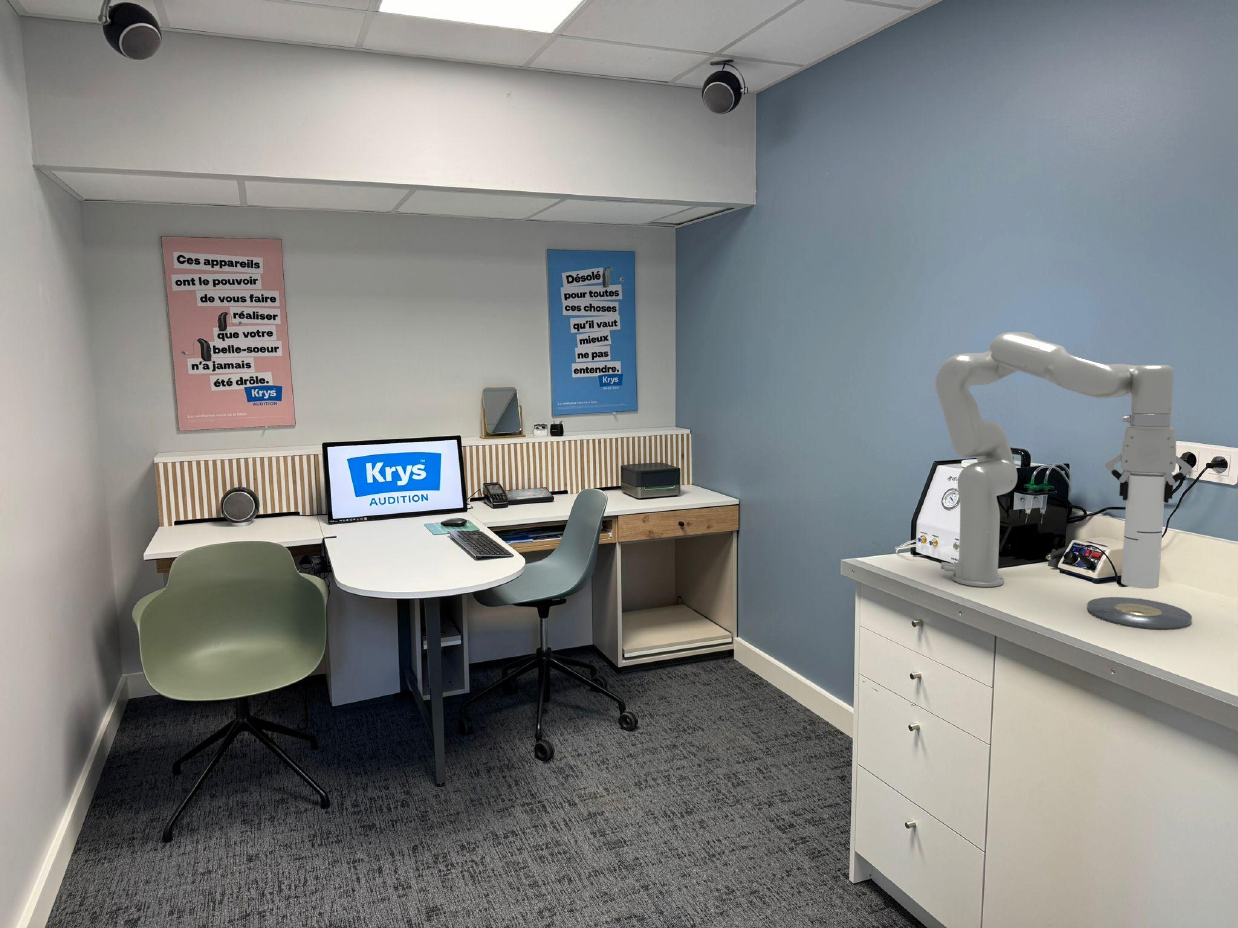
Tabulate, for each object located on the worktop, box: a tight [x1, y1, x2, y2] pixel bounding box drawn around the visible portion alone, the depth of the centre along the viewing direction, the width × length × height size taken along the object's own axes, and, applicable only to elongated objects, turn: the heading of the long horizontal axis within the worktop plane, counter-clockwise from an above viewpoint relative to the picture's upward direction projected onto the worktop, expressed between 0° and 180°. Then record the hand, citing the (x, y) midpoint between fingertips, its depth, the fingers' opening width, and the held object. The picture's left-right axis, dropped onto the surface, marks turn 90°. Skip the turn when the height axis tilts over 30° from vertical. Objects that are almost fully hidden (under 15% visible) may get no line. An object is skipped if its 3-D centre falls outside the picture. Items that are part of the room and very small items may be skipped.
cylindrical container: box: [1120, 472, 1167, 590], centre depth 182 cm, size 7×7×25 cm
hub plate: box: [1086, 596, 1193, 631], centre depth 185 cm, size 20×20×1 cm
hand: (1145, 500), depth 181 cm, fingers closed on cylindrical container, 7 cm apart
